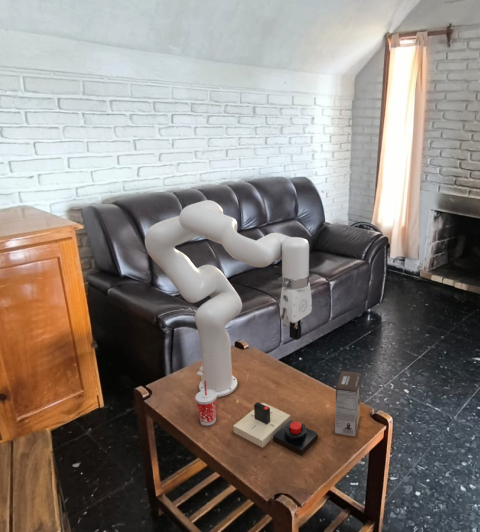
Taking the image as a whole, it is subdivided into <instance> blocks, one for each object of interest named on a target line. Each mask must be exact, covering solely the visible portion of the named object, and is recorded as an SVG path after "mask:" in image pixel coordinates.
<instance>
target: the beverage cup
mask: <svg viewBox="0 0 480 532" xmlns="http://www.w3.org/2000/svg"><path fill="white" fill-rule="evenodd" d="M204 386H205V390H202V391H200V390H199V391H198V392H197V393H196V394H195V402H196V404H197V410H198V416H199V423H200V425H202V426H206V427H207V426H208V427H209V426H212V425H213V424H215V423H216V421H217V398H218V397H217V394H216V392H215V391H214V390H206V381H204Z"/></svg>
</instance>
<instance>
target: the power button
mask: <svg viewBox="0 0 480 532" xmlns="http://www.w3.org/2000/svg"><path fill="white" fill-rule="evenodd" d="M299 422H300V421H293V422H292V423H291V424H290V432H291V433H292V434H299V433H300V432H301V423H302V422H300V423H299Z"/></svg>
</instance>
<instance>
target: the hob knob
mask: <svg viewBox="0 0 480 532" xmlns="http://www.w3.org/2000/svg"><path fill="white" fill-rule="evenodd" d="M261 403H262V402H259V401H257V402H256V403H254V404H253V410H254V416H255V419H256V420H259V421H261V422H263V423H265V424H268V423H269V422H270V408H269V407H268V406H265V405H263V404H261Z"/></svg>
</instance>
